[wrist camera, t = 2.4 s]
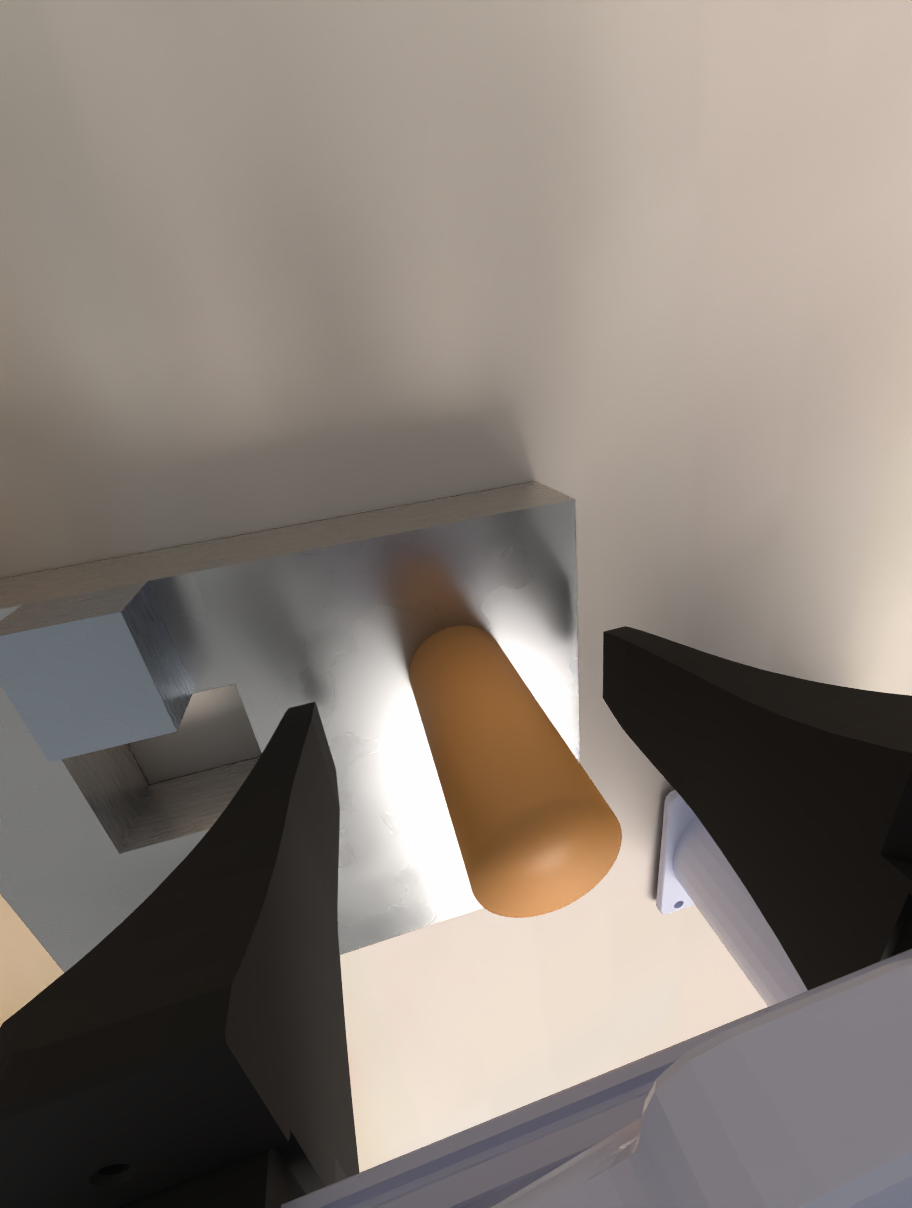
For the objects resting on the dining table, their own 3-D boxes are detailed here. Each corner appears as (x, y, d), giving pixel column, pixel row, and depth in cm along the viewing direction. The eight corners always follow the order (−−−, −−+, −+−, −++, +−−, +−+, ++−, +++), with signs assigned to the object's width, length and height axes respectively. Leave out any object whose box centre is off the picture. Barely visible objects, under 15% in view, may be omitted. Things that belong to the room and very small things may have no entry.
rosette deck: (535, 481, 14) (662, 539, 9) (554, 833, 21) (634, 989, 15) (-101, 596, 12) (-455, 776, 6) (145, 960, 18) (71, 1203, 13)
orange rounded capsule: (499, 616, 13) (623, 778, 8) (506, 697, 14) (620, 888, 9) (401, 638, 12) (460, 828, 7) (417, 720, 14) (479, 936, 8)
